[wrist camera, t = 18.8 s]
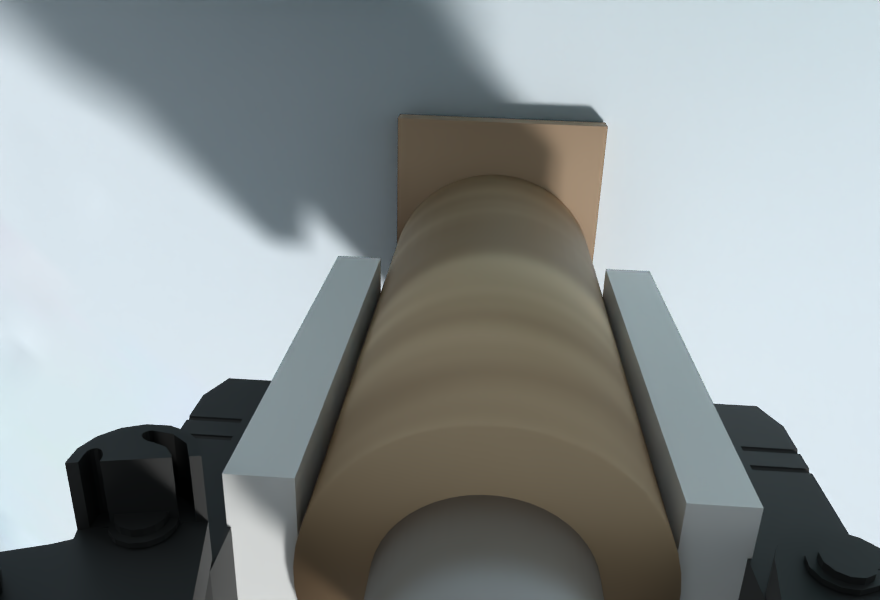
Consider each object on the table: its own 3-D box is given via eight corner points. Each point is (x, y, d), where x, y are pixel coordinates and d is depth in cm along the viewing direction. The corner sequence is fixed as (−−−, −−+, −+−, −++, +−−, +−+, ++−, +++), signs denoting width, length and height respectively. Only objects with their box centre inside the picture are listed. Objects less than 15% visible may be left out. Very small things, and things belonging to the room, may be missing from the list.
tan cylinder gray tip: (402, 164, 16) (232, 548, 6) (605, 186, 16) (797, 615, 6) (388, 344, 17) (237, 889, 7) (573, 365, 17) (675, 946, 7)
